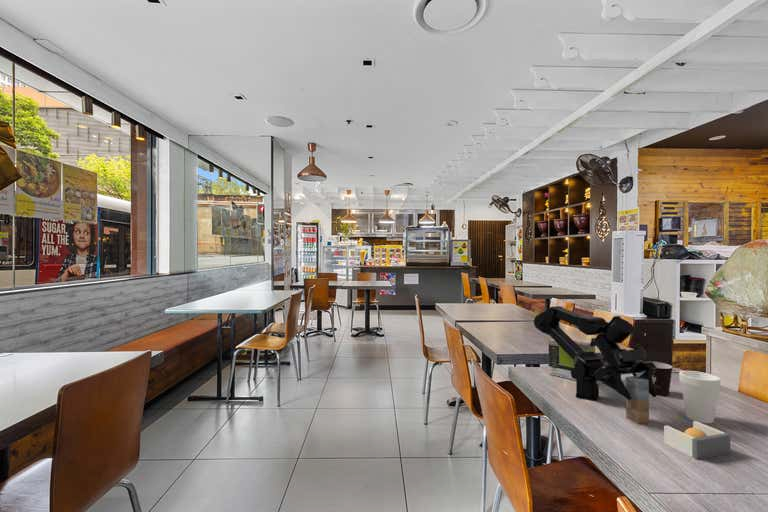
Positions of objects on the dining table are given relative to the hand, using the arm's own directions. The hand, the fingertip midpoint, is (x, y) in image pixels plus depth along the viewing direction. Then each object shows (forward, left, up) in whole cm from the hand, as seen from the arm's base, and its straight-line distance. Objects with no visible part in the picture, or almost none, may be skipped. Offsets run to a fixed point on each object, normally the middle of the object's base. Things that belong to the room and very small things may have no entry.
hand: (643, 398), depth 108 cm
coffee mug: (+6, +33, -8) cm, 34 cm away
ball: (+10, -11, -5) cm, 16 cm away
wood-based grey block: (-1, +1, -7) cm, 8 cm away
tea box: (-21, +37, -8) cm, 43 cm away
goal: (+10, -10, -7) cm, 16 cm away
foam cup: (+15, +12, -8) cm, 21 cm away
